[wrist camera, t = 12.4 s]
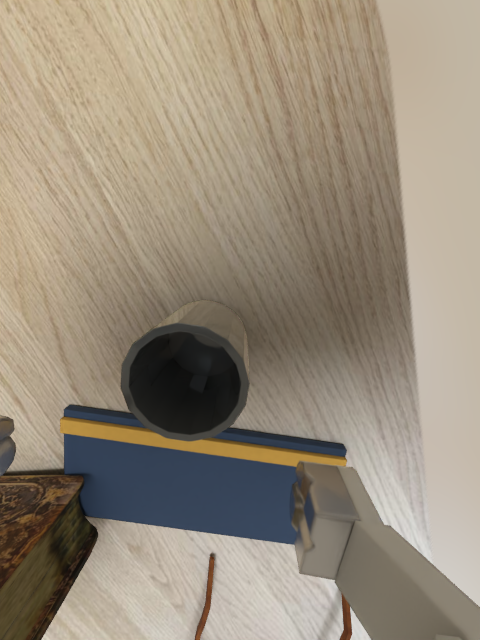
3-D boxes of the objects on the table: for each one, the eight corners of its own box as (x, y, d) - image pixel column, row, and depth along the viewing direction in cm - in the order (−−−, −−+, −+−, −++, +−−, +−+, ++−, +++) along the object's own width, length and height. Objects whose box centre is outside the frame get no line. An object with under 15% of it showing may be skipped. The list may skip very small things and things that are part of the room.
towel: (343, 444, 21) (349, 454, 20) (316, 539, 23) (320, 553, 22) (69, 404, 20) (59, 412, 19) (69, 505, 23) (60, 518, 21)
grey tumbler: (253, 306, 18) (258, 334, 11) (240, 383, 20) (238, 449, 13) (169, 293, 18) (123, 314, 11) (162, 371, 20) (117, 431, 13)
